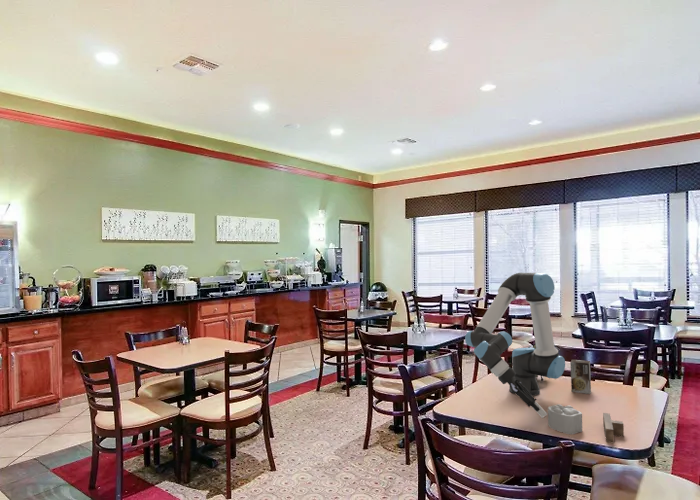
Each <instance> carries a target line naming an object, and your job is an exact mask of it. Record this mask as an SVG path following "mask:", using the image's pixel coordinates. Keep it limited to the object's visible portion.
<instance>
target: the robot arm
mask: <svg viewBox="0 0 700 500" xmlns="http://www.w3.org/2000/svg"><path fill="white" fill-rule="evenodd" d="M554 293H555V283H554V280H553V278H552V277H551V276H550V274H549V273H544V272H517V273H514V274H512V275H510V276H509V277H508V278H506V279H505V280H504V281H503V282H502V283H501V285H500V286H499V287H498V289H497V294H496V296H495V297H494V299H493V301H492V302H491V304H490V306H489V307H488V308H487V310H486V311H485V313H484V315H483V316H482V318H481V320H480V321H479V322H478V323H477V325H476V327H475V329H474V330H469V331H467V332H466V333H465V336H464V341H465V344H466V345H467V346H469V347H472V348H474V349H473V353H474V354H475V356H476V357H477V358H478V359H479V360H480V361H481V362H482V363H483V364H484V365H485V366H486V368H488V369H489V371H490V372H491V374H493V375H494V376H495V377H497V379H498V381H500V383H502V384H503V385H505V384H508V385H509V389H508V390H509V392H510V393H512V394H514V395H516V396H517V397H519V398H520V400H522V402H524V403H525V404H526V405H527V407H528V408H530V407H531V408H532V410H534V411H535V413H537V415H539V416H540V418H542V419H543V418H544V417H546V416H548V412H547V411H545V409H543V408H544V407H542V406H541V405H540V404H539V403H538V402H537V398H535V397H534V396H538V395H540V394H541V388H540V386H539V382H538V381H537V378H536V375H539V376H540V377H541V376H542V378H543V377H545V378H548V379H554V380H555V379H559V378H561V376H562V375H563V374H564V372H565V369H566V360H565V358H564V357H563V356H562V355H560V354H559V349H558V348H557V347H555V340H554V335H553V333H554V332H553V328H552V320H551V314H550V313H551V312H550V307H549V302H550V300H551V299H552V296H553V294H554ZM519 296H525V301H526V302H527V303H528V304H529V307H530V309H529V310H530V313H531V321H532V327H533V328H532V329H533V334H534V344H535V343H536V344H535V345H536V349H535V348H533V347H518V348H514V349H513V350H512V352H511V353H512V354H511V365H512V366H511V367H510V365H509V364H508V363H507V361H506V360H504V359H503V357H501V355H502V354H503V353H504V352H505V351H507V350H508V349H509V348H510V346H511V345H513V338H512V336H511V335H510V333H509V332H506V331H504V330H503V331H500V332H498V333H497V334H492V333H493V332H494V330H495V329H496V327H497V325H498V324H499V322H500V321H501V319H502V317H503V316H504V314H505V313H506V310H507V309H508V307H509V306H510V304H511V303H512V302H514V301H515V300H516V299H517V297H519ZM539 376H538V377H539Z"/></svg>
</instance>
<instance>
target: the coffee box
mask: <svg viewBox="0 0 700 500" xmlns="http://www.w3.org/2000/svg"><path fill="white" fill-rule="evenodd" d="M569 365H570V377H571V378H570V383H571V385H570V387H571V389H570V390H571V392H572V393H577V394H586V395H591V394H592V382H591V381H592V380H591V378H592V377H591V361H590V360H583V359H581V360H580V359H571V361H570V364H569Z"/></svg>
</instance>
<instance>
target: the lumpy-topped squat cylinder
mask: <svg viewBox="0 0 700 500" xmlns="http://www.w3.org/2000/svg"><path fill="white" fill-rule="evenodd" d="M547 425H548V427H549V428H550V429H552V430H554V431H556V430H557V432H559V431H560V433H562V432H563V433H562V434H567V435H575V434H577V433H582V432H583V413H582V412H581V411H580V410H577V409H576V408H574V407H573V406H572V405H570V404H569V405H564V406H563V405H562V404H558V403H557V404H556V405H550V406H548V407H547Z"/></svg>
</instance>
